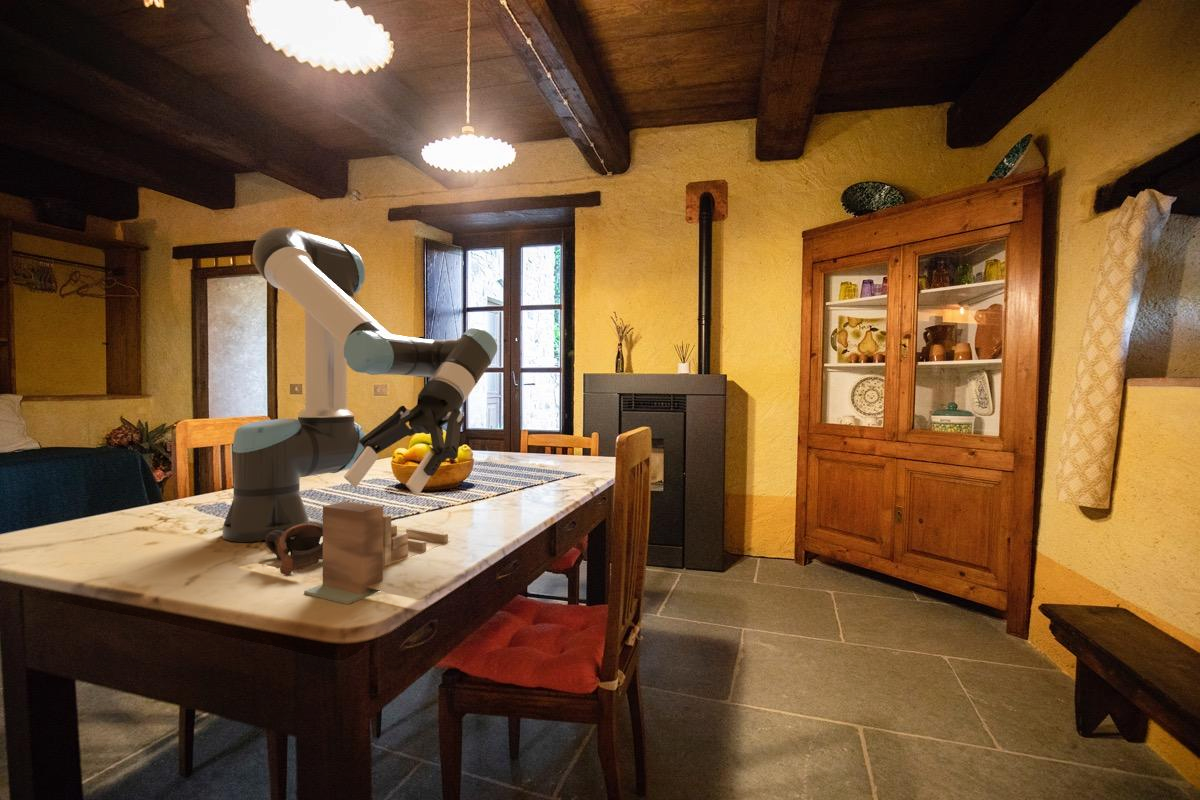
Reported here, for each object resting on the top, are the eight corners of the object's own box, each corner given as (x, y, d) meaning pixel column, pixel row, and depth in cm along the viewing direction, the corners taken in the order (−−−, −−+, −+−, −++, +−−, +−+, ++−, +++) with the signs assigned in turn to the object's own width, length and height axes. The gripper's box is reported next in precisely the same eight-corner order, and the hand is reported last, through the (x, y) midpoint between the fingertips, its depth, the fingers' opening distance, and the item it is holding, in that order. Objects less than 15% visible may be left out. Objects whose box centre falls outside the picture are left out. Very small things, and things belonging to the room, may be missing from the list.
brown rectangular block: (345, 577, 83) (345, 501, 82) (382, 585, 79) (383, 506, 79) (322, 585, 79) (322, 506, 79) (360, 594, 76) (361, 511, 75)
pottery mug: (346, 559, 94) (346, 525, 90) (313, 600, 86) (312, 565, 82) (282, 541, 94) (279, 506, 90) (243, 581, 86) (239, 545, 82)
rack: (411, 540, 104) (411, 494, 104) (450, 547, 100) (451, 499, 100) (342, 564, 90) (342, 510, 90) (385, 573, 86) (385, 517, 86)
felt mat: (355, 574, 85) (355, 572, 85) (397, 583, 81) (397, 580, 81) (304, 593, 77) (304, 590, 77) (347, 604, 73) (347, 601, 73)
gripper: (510, 408, 94) (452, 507, 81) (406, 404, 105) (340, 491, 91) (492, 378, 89) (428, 478, 76) (385, 377, 100) (312, 465, 86)
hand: (379, 486), depth 84 cm, fingers open, 13 cm apart
